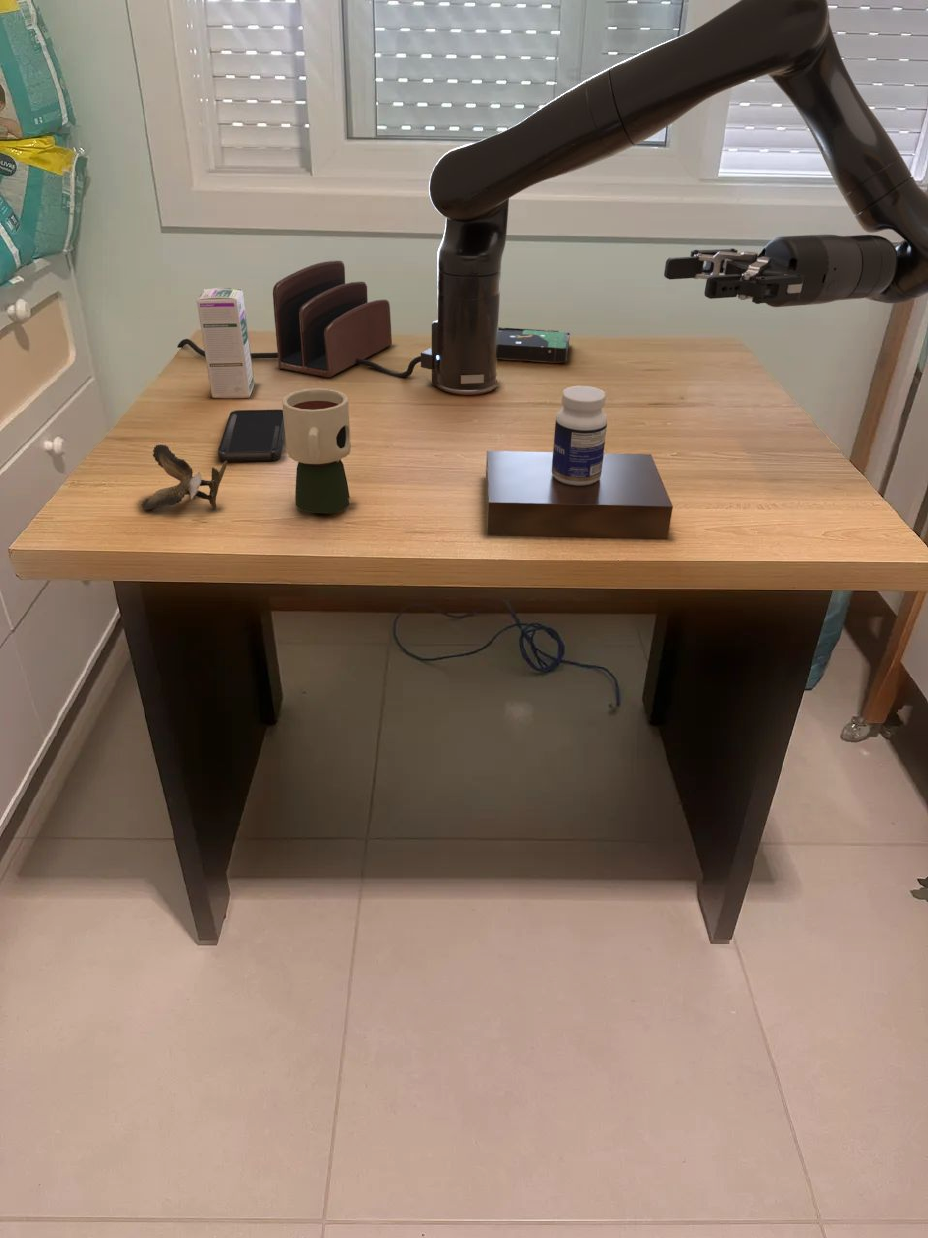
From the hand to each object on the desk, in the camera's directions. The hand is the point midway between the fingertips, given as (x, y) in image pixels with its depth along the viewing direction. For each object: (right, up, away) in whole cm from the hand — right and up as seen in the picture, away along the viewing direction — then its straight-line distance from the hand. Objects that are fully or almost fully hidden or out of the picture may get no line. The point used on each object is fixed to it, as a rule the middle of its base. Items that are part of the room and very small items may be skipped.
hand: (686, 277), depth 97 cm
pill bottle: (-12, -21, +5) cm, 25 cm away
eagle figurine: (-57, -24, +6) cm, 62 cm away
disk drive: (-14, +8, +55) cm, 58 cm away
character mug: (-41, -25, +6) cm, 48 cm away
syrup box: (-59, -3, +36) cm, 70 cm away
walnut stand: (-12, -24, +7) cm, 28 cm away
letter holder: (-46, +6, +51) cm, 69 cm away
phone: (-53, -13, +22) cm, 58 cm away
